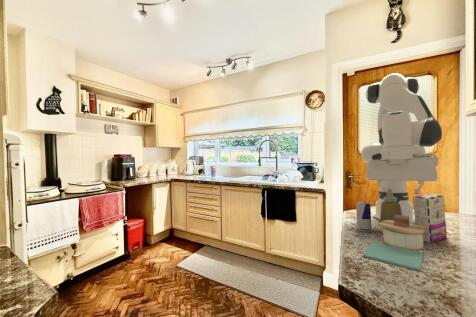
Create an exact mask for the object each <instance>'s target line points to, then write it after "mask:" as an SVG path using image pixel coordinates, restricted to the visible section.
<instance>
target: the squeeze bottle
mask: <svg viewBox="0 0 476 317" xmlns="http://www.w3.org/2000/svg"><path fill="white" fill-rule="evenodd" d="M384 201H385V202H382V203H381V215H380V220H379V223H380V222H381V221H385V220H394V216H395V215H401V216H402V212H401V207H400V204H399V203H397V198H396V197H394V196H393V193H392V190H391V189H388V191H387V196H386V197H384Z"/></svg>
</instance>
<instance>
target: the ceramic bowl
mask: <svg viewBox="0 0 476 317" xmlns="http://www.w3.org/2000/svg"><path fill="white" fill-rule="evenodd" d="M382 234H383V235H382V236H383V242H384V244H385V245H390V246H395V247H400V248H404V249H409V250H414V251H422V250H423V249H424V243H425V242H424V241H423V234H421V235H410V234H401V233H395V232H391V231H388V230H385V229H383V228H382Z"/></svg>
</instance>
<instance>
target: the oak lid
mask: <svg viewBox="0 0 476 317" xmlns="http://www.w3.org/2000/svg"><path fill="white" fill-rule="evenodd" d="M379 226H380V228H381V229H382V230H383V229H385V230H388V231H391V232H395V233H401V234H410V235H421V234H425V233H426V232H427V231H426V227H425V226H423V225H420V224H417V223H412V222H409V216H401V215H395V216H394V220H385V221H381V222H380V221H379Z"/></svg>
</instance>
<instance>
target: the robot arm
mask: <svg viewBox="0 0 476 317" xmlns="http://www.w3.org/2000/svg"><path fill="white" fill-rule="evenodd" d="M419 90H420V83H419V81H418V79H417V78H416V77H404V75H402V74H400V73H391V74H389V75H387V76H384V78H383V79H382V80H381V81H380V82H373V83H371V84H369V86H368V87H367V89H366V91H365V97H366V100H367V102H368V103H369V104H376V103H379V104H380V106H379V109H378V113H377V133H378V142H377V143H372V144H368V145H365V146H363V148H362V149H361V153H360V156H361V159H362V161H363V162H364V163H366V168H365V171H366V172H365V177H366V179H367V180H370V181H376V182H377V185H378V187H379V191H378V192H377V194H378V200H376V201H375V213H374V214H371V218H374V217H375V219H377V218H378V220H379V221H380V215H381V203H382V202H385V201H384V197H386V196H387V191H388V189H391V190H392V193H393V196H394V197H396V198H397V203H399V204H400V207H401V212H402V216H409V222H412V223H415V216H414V204H412V203H411V202H410V201H409V200H410V198H409V197H410V196H409V192H408V190H407V189H408V187H407V182H408V181H409V182H417V185H419V186H418V187H417V188H413V193H414V195H421V189H422V187H423V186H424V185H425V182H436V181H438V180H439V176H438V170H437V166H438V165H439V158H438V156H437V155H436V154H432V153H426V148H428V147H429V148H430V147H432V146H435V145H436V144H438V143H439V142H440V141H441V140H442V137H443V129H442V126H441V125H440V123H439V121H438V120H437V119H436V118H435V117H434V115H433V113H432V112H431V110H430V108H429V107H428V104H427V103H426V102H425V100H424V98H423V97H422V96H421V95H420V94H418V92H419ZM410 114H413V115H414V116H415V118H416V120H415V121H412V119H411V116H410Z"/></svg>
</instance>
